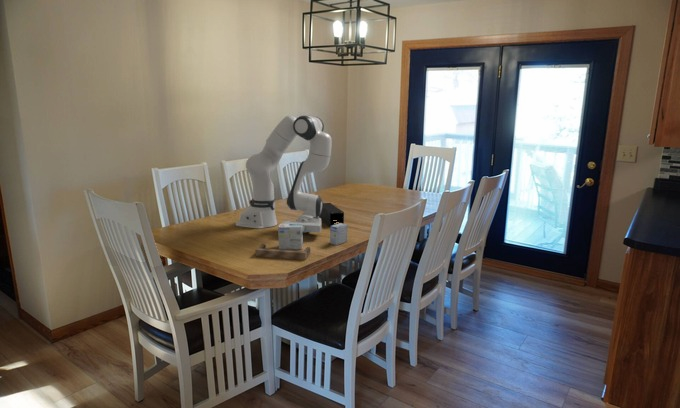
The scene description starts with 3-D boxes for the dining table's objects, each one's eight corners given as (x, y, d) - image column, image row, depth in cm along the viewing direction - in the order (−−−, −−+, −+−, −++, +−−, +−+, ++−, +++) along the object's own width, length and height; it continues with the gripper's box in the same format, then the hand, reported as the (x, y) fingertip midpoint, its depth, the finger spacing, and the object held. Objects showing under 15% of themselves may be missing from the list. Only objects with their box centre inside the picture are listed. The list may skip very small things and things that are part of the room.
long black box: (330, 213, 234) (316, 202, 260) (330, 227, 236) (316, 215, 262) (344, 212, 237) (328, 201, 263) (344, 226, 239) (328, 214, 264)
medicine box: (340, 239, 214) (340, 222, 212) (347, 241, 211) (347, 224, 209) (329, 243, 208) (329, 225, 206) (337, 245, 205) (337, 227, 203)
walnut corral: (256, 256, 189) (255, 249, 188) (262, 250, 197) (262, 244, 196) (305, 259, 185) (305, 253, 184) (310, 253, 193) (310, 247, 192)
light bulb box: (302, 245, 205) (302, 222, 203) (302, 249, 198) (301, 226, 196) (279, 245, 204) (279, 222, 202) (278, 249, 198) (277, 226, 196)
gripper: (284, 216, 224) (276, 223, 211) (324, 218, 220) (317, 225, 207) (285, 228, 225) (276, 236, 212) (324, 230, 222) (317, 238, 208)
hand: (297, 230), depth 209 cm, fingers closed
